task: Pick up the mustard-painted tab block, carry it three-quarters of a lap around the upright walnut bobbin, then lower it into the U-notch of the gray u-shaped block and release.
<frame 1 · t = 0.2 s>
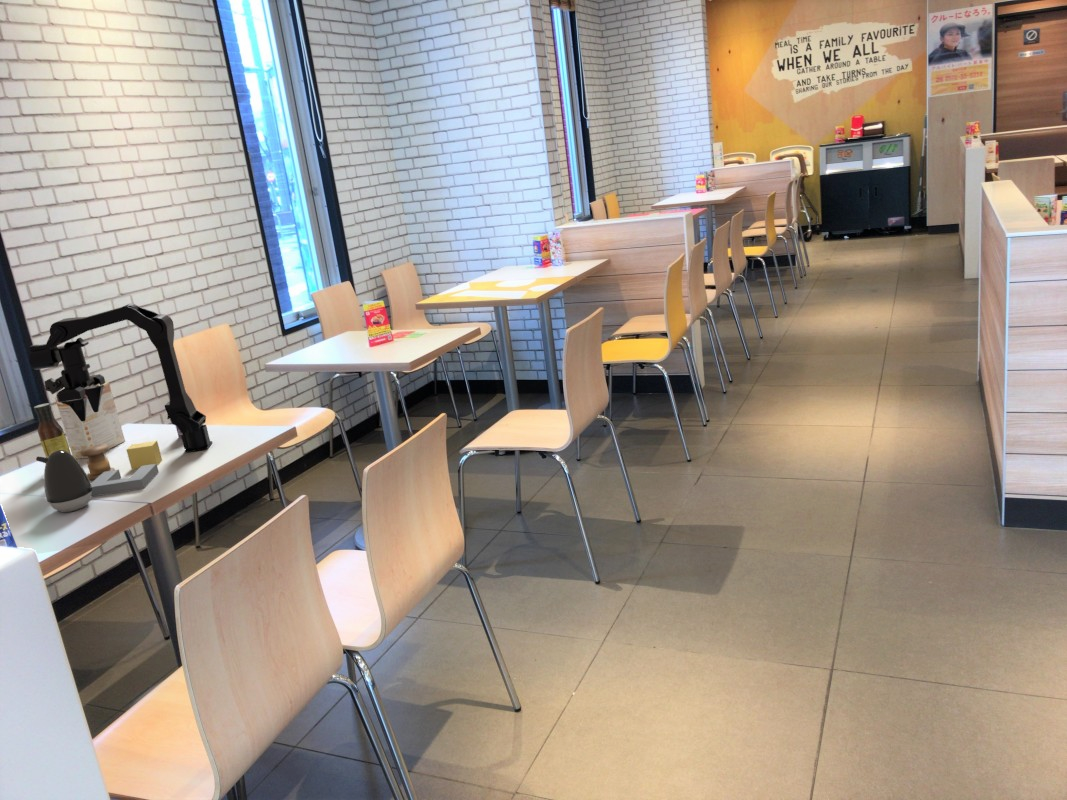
hand: (89, 416, 240), 14 cm above the table, fingers open, 9 cm apart
tab: (147, 465, 237), on the table
container: (186, 436, 262), on the table
pump dispenser: (73, 508, 210), on the table
coffeecake box: (99, 450, 259), on the table
sauce bottle: (63, 471, 242), on the table
bobbin: (101, 475, 233), on the table
gray u-shaped block: (124, 484, 223), on the table
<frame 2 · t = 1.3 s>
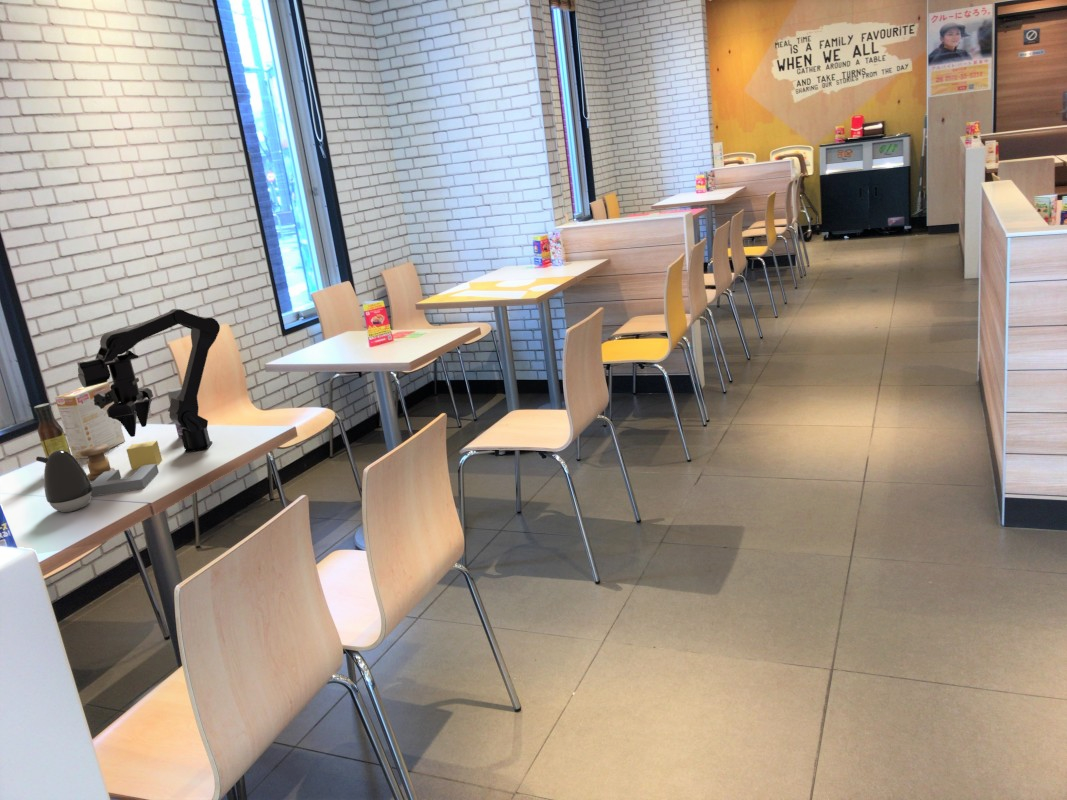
hand: (138, 431, 235), 10 cm above the table, fingers open, 9 cm apart
nothing on the table moved.
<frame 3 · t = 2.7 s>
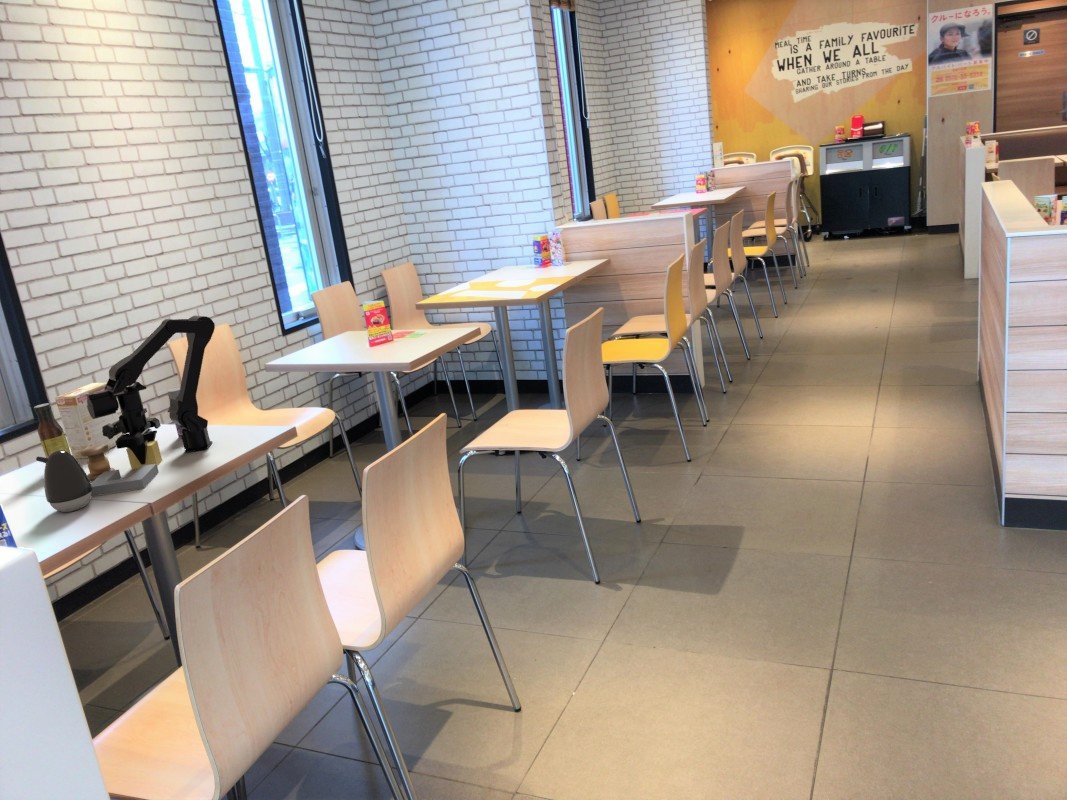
hand: (146, 461, 237), 1 cm above the table, fingers closed on tab, 4 cm apart
tab: (147, 464, 237), on the table, touching gripper
everything else where it was.
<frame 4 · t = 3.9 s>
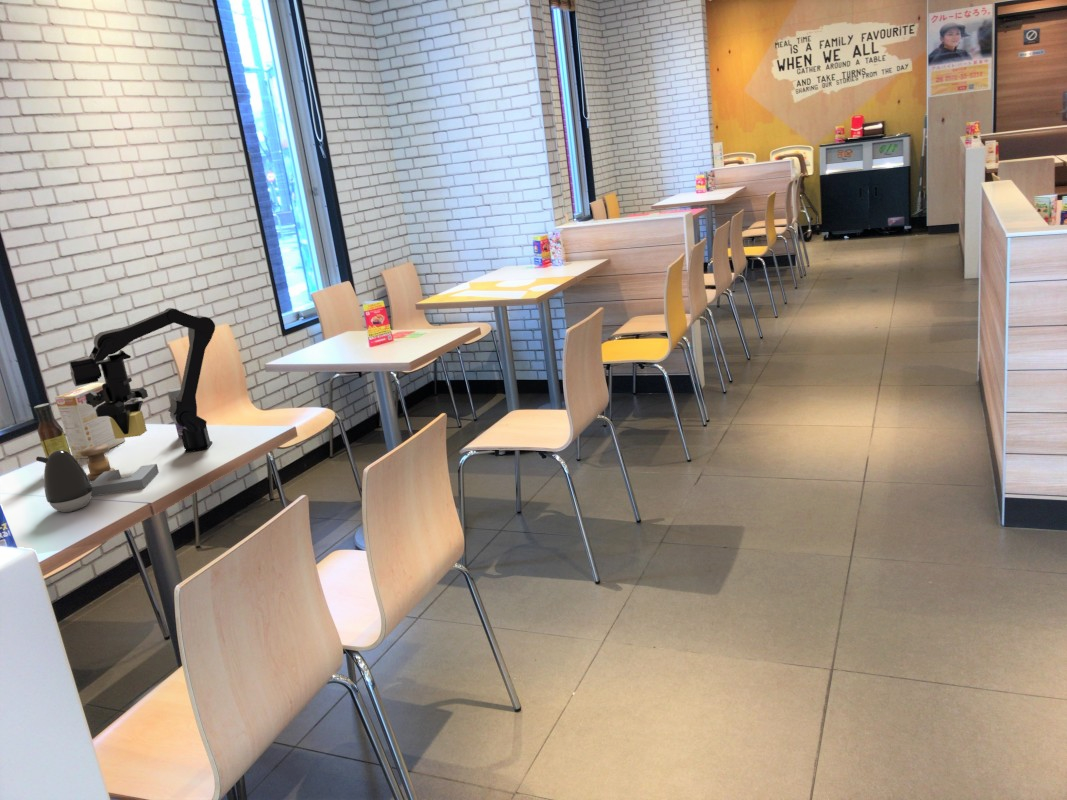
hand: (130, 431, 235), 10 cm above the table, fingers closed on tab, 4 cm apart
tab: (131, 434, 235), point 9 cm above the table, touching gripper
everything else where it was.
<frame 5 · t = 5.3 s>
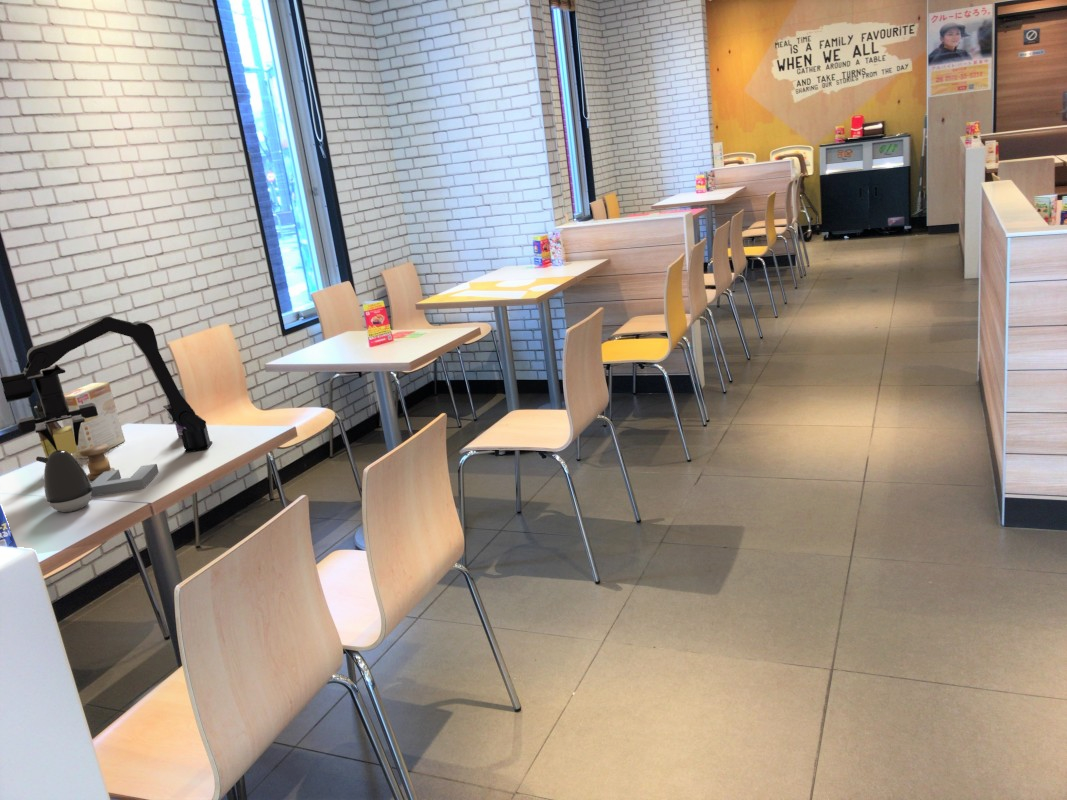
hand: (67, 447, 227), 10 cm above the table, fingers closed on tab, 4 cm apart
tab: (68, 451, 228), point 9 cm above the table, touching gripper
everything else where it was.
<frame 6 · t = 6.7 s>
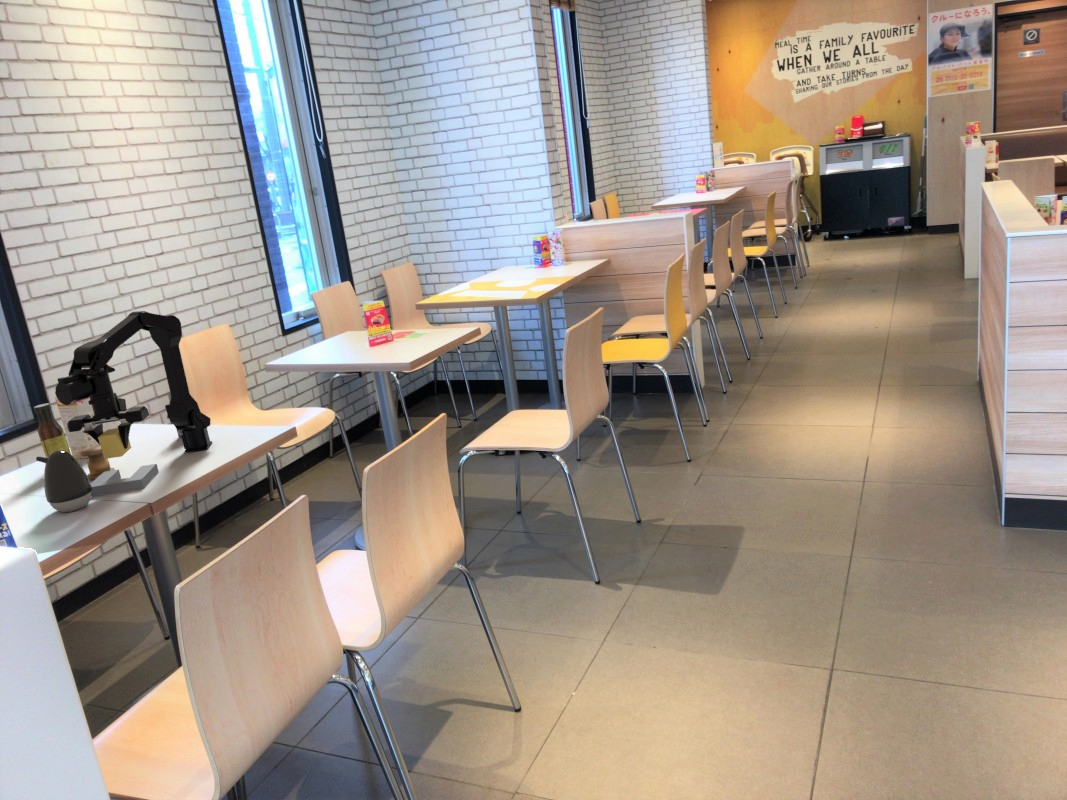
hand: (117, 449, 221), 9 cm above the table, fingers closed on tab, 4 cm apart
tab: (117, 453, 221), point 8 cm above the table, touching gripper
everything else where it was.
when the fingers open (3 cm above the table, at t = 8.0 s): tab drops 3 cm, resting in gray u-shaped block.
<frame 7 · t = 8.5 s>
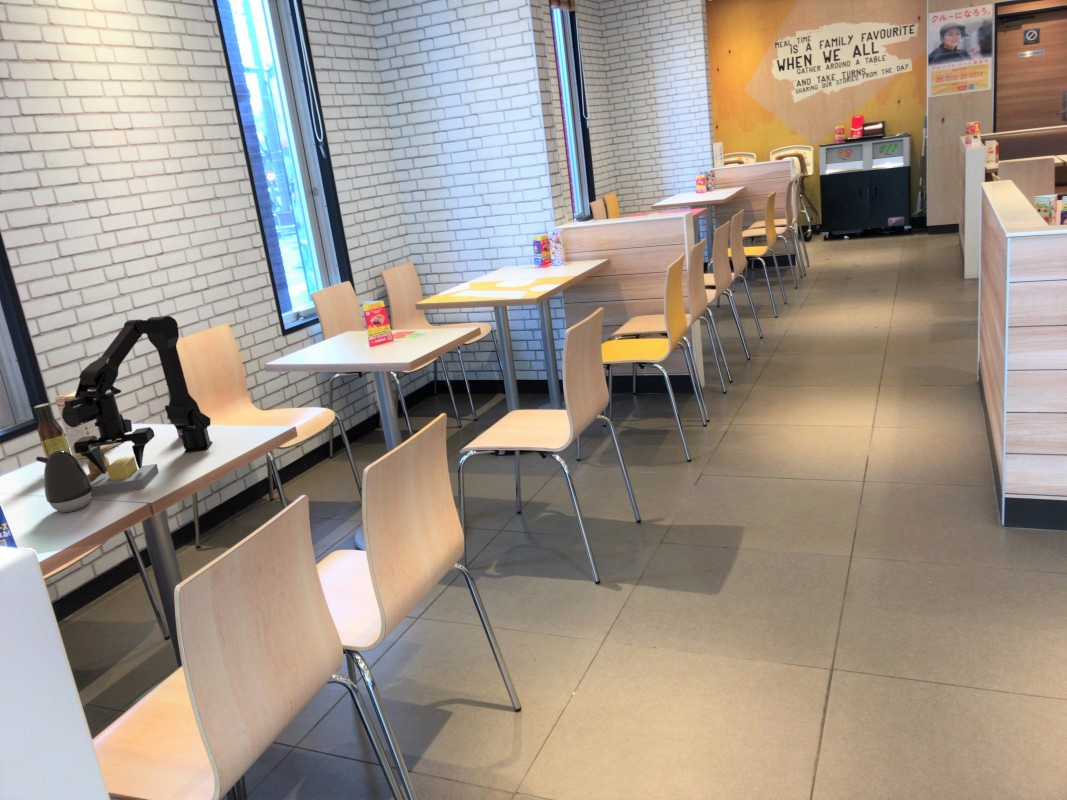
hand: (122, 470, 223), 3 cm above the table, fingers open, 9 cm apart
tab: (126, 483, 224), resting in gray u-shaped block
everything else where it was.
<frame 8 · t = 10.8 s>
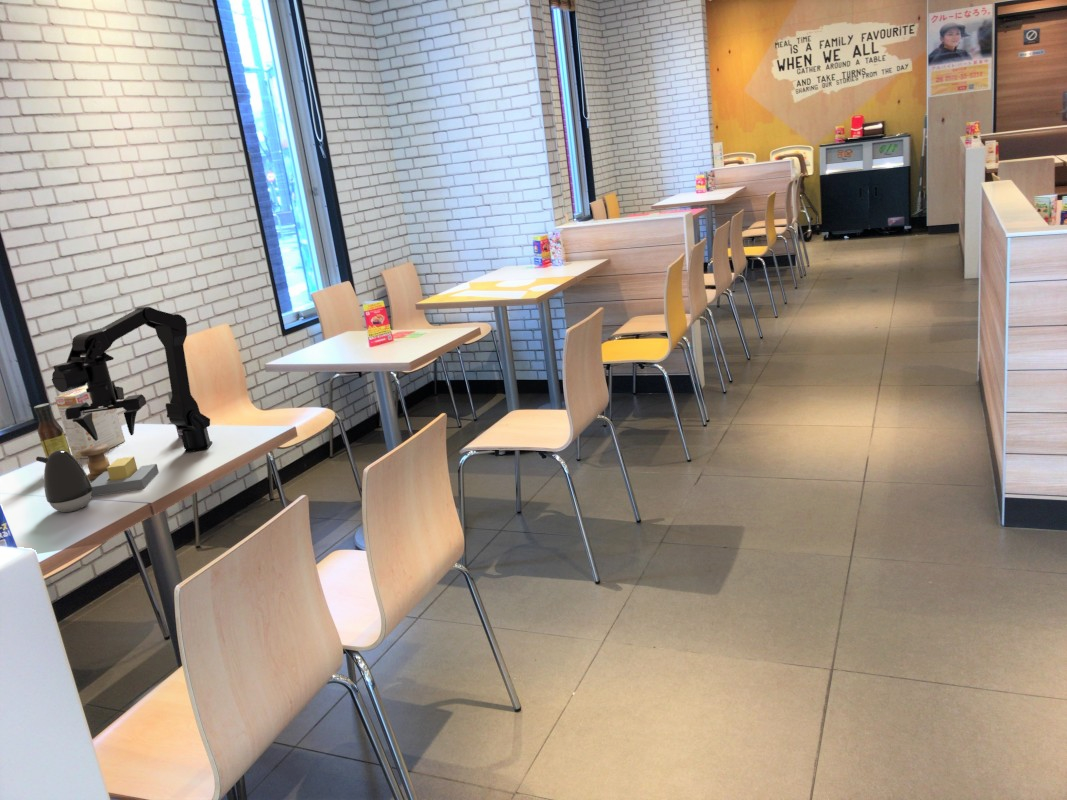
hand: (114, 437, 223), 12 cm above the table, fingers open, 9 cm apart
nothing on the table moved.
at the end: tab 0.5 cm from the target spot on the gray u-shaped block, point 0.0 cm above the gray u-shaped block's base; tab tilted 0°; the gripper is holding nothing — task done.
